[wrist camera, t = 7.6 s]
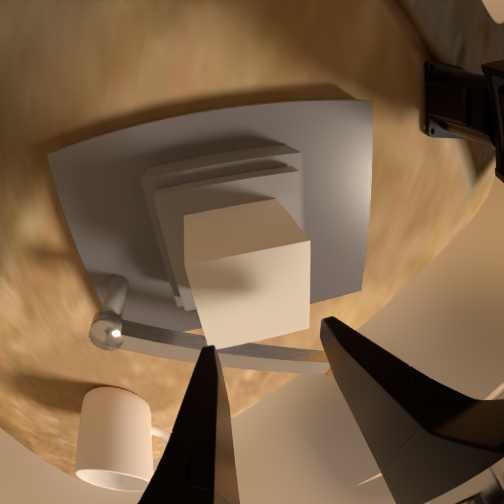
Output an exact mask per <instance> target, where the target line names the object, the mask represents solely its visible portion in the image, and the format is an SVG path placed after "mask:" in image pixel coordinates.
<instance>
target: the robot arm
mask: <svg viewBox="0 0 504 504" xmlns="http://www.w3.org/2000/svg"><path fill="white" fill-rule="evenodd" d="M430 66H431V69H430ZM481 67H482V71H483V73H484V75H479V74H472V73H470V72H467V71H464V70H461V69H458V68H454V67H451V66H447V65H444V64H440V63H436V62H432V61H427V62H425V84H426V134H427V135H428V136H430V137H436V138H458V139H469V140H471V141H474V142H477V143H480V144H482V145H485V146H487V147H490V148H493V149H495V156H496V168H495V175H496V176H497V177H498V178H499V179H500V180H501V181H502V182H503V183H504V60H500V61H495V62H491V63H486V64H482V65H481ZM431 130H432V131H431ZM320 339H321V342H322V345H323V348H324V351H325V353H326V356H327V359H328V362H329V364H330V367H331V370H332V373H333V375H334V378H335V380H336V382H337V384H338V386H339V388H340V390H341V392H342V394H343V396H344V398H345V400H346V402H347V404H348V406H349V408H350V410H351V412H352V413H353V416H354V418H355V420H356V422H357V424H358V426H359V428H360V430H361V432H362V434H363V436H364V438H365V440H366V442H367V444H368V446H369V448H370V450H371V452H372V454H373V456H374V458H375V460H376V462H377V464H378V466H379V469H381V470H380V471H381V473H382V475H383V477H384V479H385V481H386V483H387V485H388V488H389V490H390V492H391V494H392V496H393V498H394V500H395V502H396V504H424V503H426V502H429V501H430V503H431V504H504V399H500V400H478V399H474V398H471V397H468V396H466V395H464V394H462V393H460V392H458V391H455V390H453V389H451V388H449V387H447V386H445V385H443V384H441V383H439V382H437V381H435V380H433V379H431V378H429V377H428V376H426V375H424V374H423V373H421V372H419V371H418V370H416V369H415V368H413V367H412V366H410V367H409V365H408V364H406V363H405V362H403V361H402V360H400V359H399V358H397V357H396V356H394V355H393V354H391V353H390V352H388V351H386V350H385V349H383V348H382V347H380V346H379V345H377V344H375V343H374V342H372V341H371V340H369V339H367V338H366V337H365V336H363V335H362V334H360V333H358V332H357V331H355V330H354V329H352V328H351V327H349V326H348V325H346V324H345V323H343V322H341V321H340V320H338V319H337V318H335V317H333V316H331V317H327V318H323V319H322V320H321V329H320ZM137 504H240V501H239V493H238V484H237V476H236V467H235V458H234V448H233V438H232V428H231V417H230V407H229V401H228V396H227V391H226V387H225V382H224V377H223V373H222V368H221V363H220V360H219V356H218V353H217V350H216V347H215V345H208V346H204V347H202V349H201V352H200V354H199V357H198V360H197V363H196V365H195V368H194V371H193V374H192V376H191V379H190V382H189V385H188V387H187V390H186V393H185V396H184V398H183V401H182V404H181V407H180V410H179V412H178V415H177V418H176V421H175V424H174V426H173V429H172V433H171V435H170V437H169V440H168V443H167V446H166V448H165V451H164V453H163V456H162V458H161V460H160V462H159V464H158V466H157V468H156V470H155V472H154V474H153V476H152V478H151V480H150V482H149V484H148V486H147V487H146V489H145V491H144V493H143V495H142V497H141V499H140V501H139V502H138V503H137Z"/></svg>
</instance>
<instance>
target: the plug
mask: <svg viewBox="0 0 504 504" xmlns="http://www.w3.org/2000/svg"><path fill="white" fill-rule="evenodd" d="M153 199H154V203H155V207H156V211H157V215H158V219H159V223H160V227H161V230H162V234H163V238H164V241H165V245H166V249H167V252H168V256H169V259H170V263H171V266H172V269H173V273H174V276H175V279H176V283H177V286H178V289H179V292H180V295H181V299H182V302H183V305H184V308H185V311H189V310H194V309H197V312H198V315H199V318H200V322H201V325H202V328H203V331H204V335H205V338H206V341H207V344H208V345H215V347H216V349H222V348H227V347H231V346H236V345H241V344H246V343H250V342H255V341H259V340H263V339H268V338H272V337H276V336H280V335H284V334H288V333H292V332H296V331H300V330H304V329H308V328H309V313H310V239H309V238H308V237H307V236H306V234H305V233H304V232H303V231H302V229H301V200H300V177H299V171H298V170H297V169H296V168H294V167H293V166H289V167H281V168H274V169H267V170H260V171H254V172H247V173H241V174H235V175H229V176H224V177H218V178H212V179H207V180H202V181H196V182H191V183H186V184H181V185H177V186H172V187H167V188H162V189H158V190H155V192H154V195H153Z"/></svg>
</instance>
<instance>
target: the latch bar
mask: <svg viewBox="0 0 504 504" xmlns="http://www.w3.org/2000/svg"><path fill="white" fill-rule="evenodd" d="M89 338H90V340H91V342H92V343H93V344H94V345H95V346H97V347H99V348H101V349H103V350H109V351H112V350H117V349H123V350H127V351H132V352H136V353H141V354H146V355H151V356H157V357H162V358H168V359H174V360H180V361H186V362H193V363H197V360H198V357H199V354H200V352H201V349H202V347H204V346H208V344H207V341H206V338H205V336H201V335H195V334H190V333H184V332H179V331H174V330H169V329H164V328H159V327H154V326H150V325H145V324H140V323H136V322H132V321H127V320H123V318H122V317H121V316H119V315H118V314H116V313H114V312H112V311H100V312H98V313H96V314H95V315H94V317H93V321H92V324H91V328H90V331H89ZM216 350H217V353H218V356H219V360H220V363H221V366H222V367H231V368H240V369H250V370H262V371H275V372H292V373H317V374H326V375H333V373H332V370H331V367H330V364H329V362H328V359H327V356H326V353H325V351H319V350H307V349H297V348H287V347H278V346H270V345H261V344H254V343H246V344H241V345H236V346H231V347H227V348H222V349H216Z"/></svg>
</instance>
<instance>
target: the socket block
mask: <svg viewBox="0 0 504 504" xmlns="http://www.w3.org/2000/svg"><path fill="white" fill-rule="evenodd" d="M47 159H48V163H49V167H50V170H51V174H52V177H53V181H54V184H55V188H56V191H57V194H58V197H59V200H60V204H61V207H62V210H63V213H64V215H65V218H66V221H67V224H68V227H69V229H70V232H71V235H72V237H73V240H74V243H75V245H76V248H77V250H78V253H79V255H80V257H81V260H82V262H83V265H84V267H85V269H86V272H87V274H88V276H89V278H90V281H91V283H92V285H93V287H94V289H95V291H96V293H97V296H98V298H99V300H100V302H101V304H102V307H101V311H112V312H114V313H116V314H118V315H119V316H121V317H122V318H123V320H127V321H132V322H136V323H140V324H145V325H150V326H154V327H159V328H164V329H169V330H174V331H179V332H182V331H188V330H193V329H199V328H202V325H201V322H200V318H199V315H198V312H197V309H194V310H189V311H185V308H184V305H183V302H182V299H181V295H180V292H179V289H178V286H177V283H176V279H175V276H174V273H173V269H172V266H171V263H170V259H169V256H168V252H167V249H166V245H165V241H164V238H163V234H162V230H161V227H160V223H159V219H158V215H157V211H156V207H155V203H154V199H153V195H154V192H155V190H158V189H162V188H167V187H172V186H177V185H181V184H186V183H191V182H196V181H202V180H207V179H212V178H218V177H224V176H229V175H235V174H241V173H247V172H254V171H260V170H267V169H274V168H281V167H289V166H293V167H294V168H296V169H297V170H298V171H299V177H300V200H301V229H302V231H303V232H304V233H305V234H306V236H307V237H308V238H309V239H310V304H312V303H316V302H320V301H324V300H327V299H331V298H335V297H339V296H342V295H346V294H350V293H353V292H357V291H360V290H361V286H362V279H363V272H364V264H365V255H366V246H367V237H368V226H369V214H370V199H371V181H372V101H367V100H359V99H310V100H290V101H276V102H264V103H254V104H245V105H236V106H229V107H222V108H215V109H209V110H202V111H197V112H191V113H186V114H180V115H175V116H170V117H166V118H161V119H157V120H152V121H148V122H144V123H140V124H136V125H132V126H128V127H124V128H121V129H117V130H114V131H110V132H107V133H103V134H100V135H97V136H94V137H91V138H87V139H84V140H81V141H78V142H75V143H73V144H70V145H67V146H64V147H61V148H59V149H57V150H55V151H53V152H51V153H49V154H47Z"/></svg>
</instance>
